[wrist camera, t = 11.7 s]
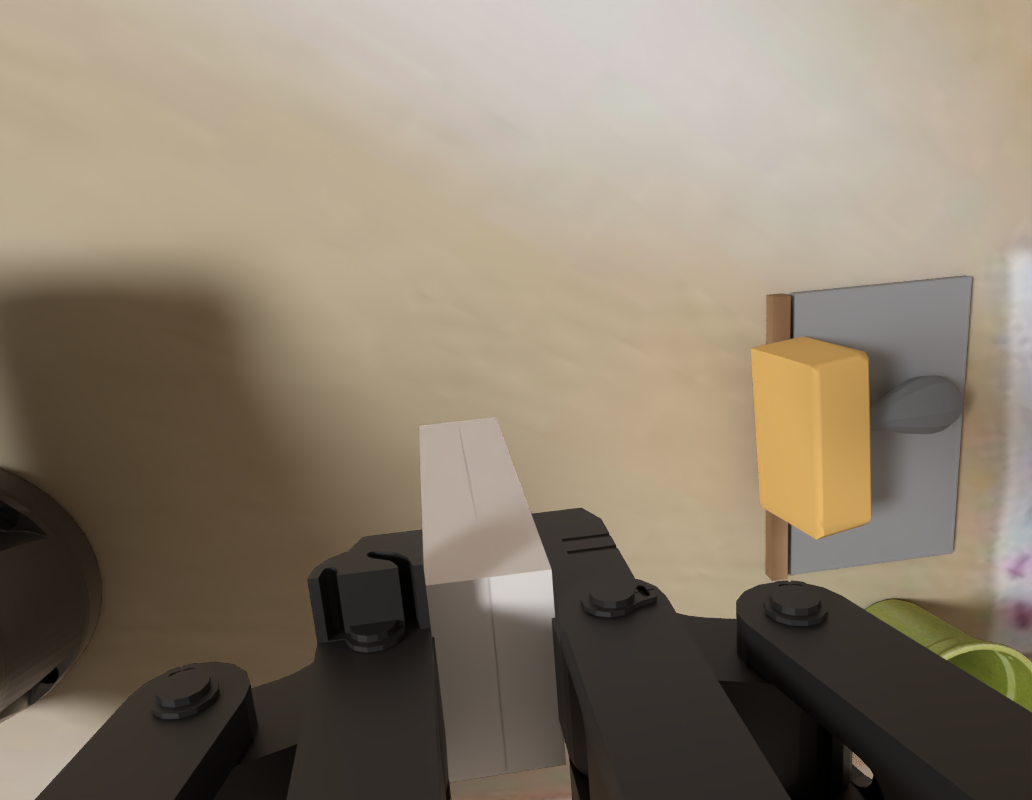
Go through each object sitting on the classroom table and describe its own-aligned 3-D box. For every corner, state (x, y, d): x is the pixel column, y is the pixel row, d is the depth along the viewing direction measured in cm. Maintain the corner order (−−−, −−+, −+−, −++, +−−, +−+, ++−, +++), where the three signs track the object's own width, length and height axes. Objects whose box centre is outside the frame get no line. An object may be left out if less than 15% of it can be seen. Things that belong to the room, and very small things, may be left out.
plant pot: (921, 548, 53) (1016, 615, 45) (970, 654, 56) (1068, 736, 48) (798, 620, 54) (869, 700, 45) (852, 722, 56) (928, 815, 48)
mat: (787, 570, 53) (791, 575, 52) (790, 292, 48) (795, 294, 47) (946, 549, 54) (952, 553, 53) (965, 275, 49) (972, 276, 48)
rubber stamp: (757, 505, 49) (918, 459, 53) (818, 542, 44) (994, 489, 47) (747, 347, 47) (918, 308, 50) (812, 366, 41) (999, 321, 44)
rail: (765, 573, 52) (772, 580, 51) (766, 295, 48) (774, 297, 47) (780, 571, 52) (787, 578, 52) (783, 293, 48) (790, 295, 47)
